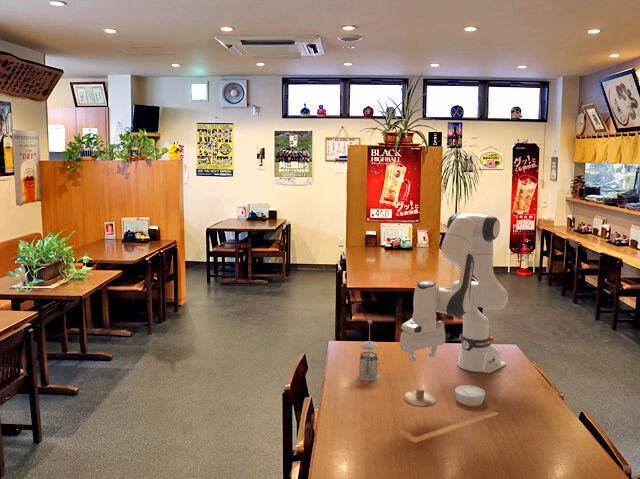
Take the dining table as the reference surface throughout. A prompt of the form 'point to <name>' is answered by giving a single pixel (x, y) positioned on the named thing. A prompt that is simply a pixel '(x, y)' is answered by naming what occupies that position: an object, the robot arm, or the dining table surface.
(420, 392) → the drop lid
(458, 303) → the robot arm
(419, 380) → the dining table surface
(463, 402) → the ramekin
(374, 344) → the french press
